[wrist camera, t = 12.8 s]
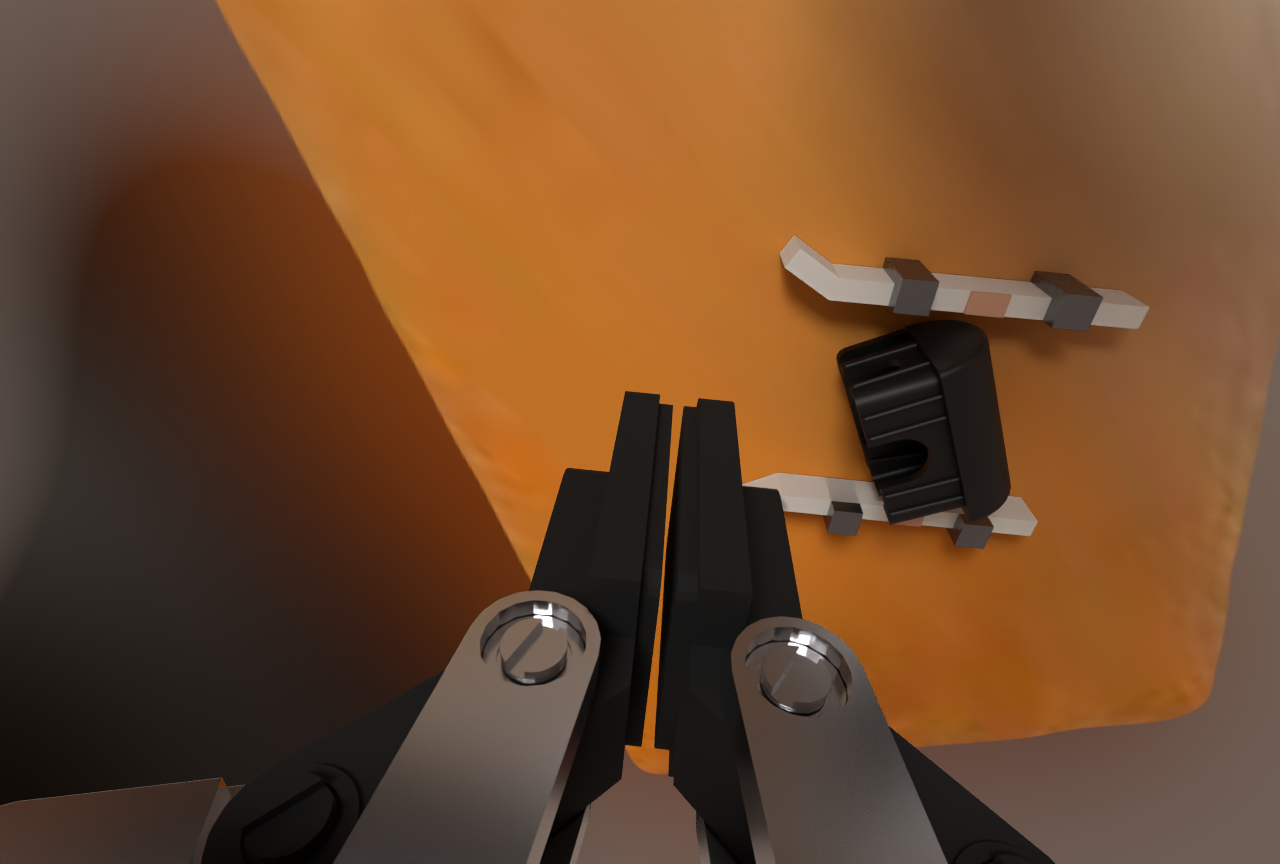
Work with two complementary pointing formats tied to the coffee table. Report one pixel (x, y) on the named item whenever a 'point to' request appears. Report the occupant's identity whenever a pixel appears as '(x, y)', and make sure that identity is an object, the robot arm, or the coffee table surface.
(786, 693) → the robot arm
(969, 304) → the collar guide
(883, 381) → the end cap
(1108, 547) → the coffee table surface
